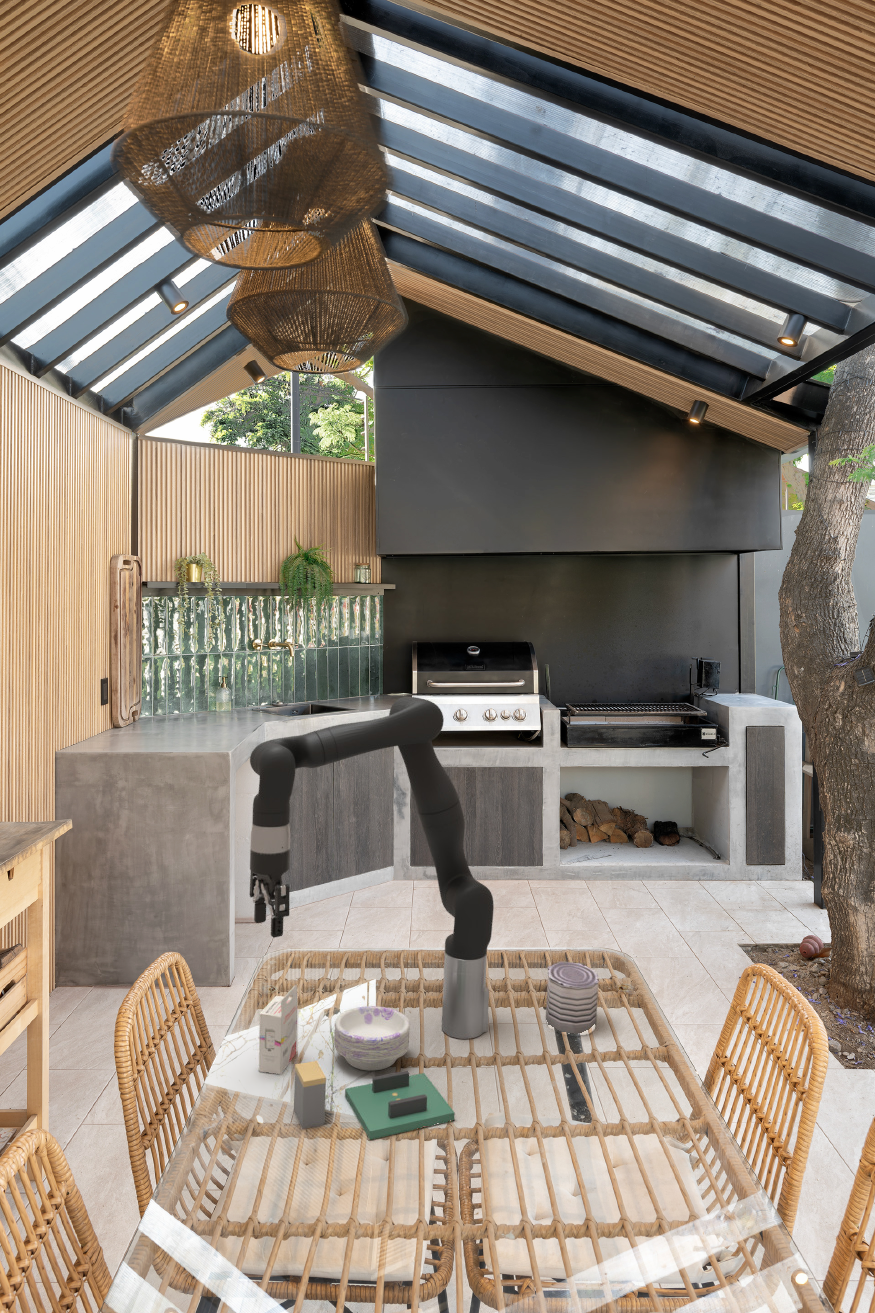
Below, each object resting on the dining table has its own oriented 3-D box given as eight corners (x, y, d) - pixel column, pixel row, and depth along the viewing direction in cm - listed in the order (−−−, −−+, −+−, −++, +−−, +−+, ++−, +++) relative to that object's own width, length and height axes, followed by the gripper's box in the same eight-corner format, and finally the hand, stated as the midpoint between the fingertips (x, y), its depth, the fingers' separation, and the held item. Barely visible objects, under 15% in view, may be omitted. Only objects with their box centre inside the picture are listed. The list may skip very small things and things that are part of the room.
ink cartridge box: (274, 1050, 174) (276, 980, 173) (296, 1053, 173) (299, 983, 172) (256, 1072, 165) (259, 998, 164) (280, 1075, 164) (283, 1001, 163)
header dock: (423, 1080, 164) (424, 1060, 164) (454, 1120, 152) (455, 1099, 151) (344, 1096, 158) (345, 1075, 158) (369, 1140, 145) (370, 1117, 145)
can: (590, 1013, 196) (593, 962, 195) (601, 1037, 184) (604, 983, 184) (541, 1012, 195) (543, 961, 195) (549, 1036, 184) (551, 982, 183)
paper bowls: (397, 1036, 181) (398, 1000, 181) (417, 1074, 167) (419, 1034, 166) (326, 1045, 176) (328, 1008, 176) (341, 1084, 162) (342, 1044, 162)
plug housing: (315, 1106, 155) (316, 1060, 154) (324, 1124, 149) (326, 1077, 149) (293, 1110, 153) (295, 1064, 153) (302, 1129, 147) (303, 1081, 147)
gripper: (303, 853, 159) (301, 938, 160) (274, 835, 171) (272, 914, 172) (265, 858, 155) (263, 945, 156) (238, 839, 167) (236, 920, 168)
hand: (268, 929), depth 164 cm, fingers open, 8 cm apart
